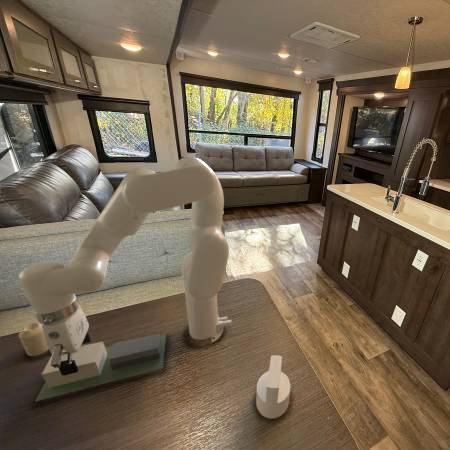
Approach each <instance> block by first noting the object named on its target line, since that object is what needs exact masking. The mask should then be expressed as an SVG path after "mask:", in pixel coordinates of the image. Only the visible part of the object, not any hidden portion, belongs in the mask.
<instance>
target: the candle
mask: <svg viewBox="0 0 450 450" xmlns="http://www.w3.org/2000/svg"><path fill="white" fill-rule="evenodd" d="M18 339H19V341H20V342H21V344H22V346H23V348H24V351H25V352H26V354H27V356H28V357H37V356H39V355H42V354H44V353H45V352H47V351H50V350H49V348H48V345H47V343H46V340H45V337H44V333H43V329H42V324H40V323H39V322H33V323H31V324H26V325H25V326H24V327H23V328H22V329H21V330H20V332H19V333H18Z"/></svg>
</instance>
